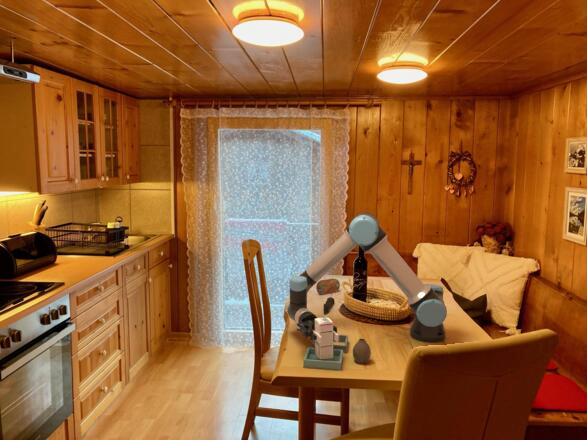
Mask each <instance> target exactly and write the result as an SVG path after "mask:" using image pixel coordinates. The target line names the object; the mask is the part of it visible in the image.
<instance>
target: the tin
mask: <svg viewBox="0 0 587 440" xmlns="http://www.w3.org/2000/svg"><path fill="white" fill-rule="evenodd" d="M315 285H316V286H315V289H316V292H317V294H320V295H322V296H325V295H326V296H327V295H329V294H331V295H332V294H335V293H337V292H338V291H339V290H340V287H341V283H340V281H339V280H338V279H336V278H333V277H331V278H326V279H320V280H319V281H318V282H317V283H316V284H315Z"/></svg>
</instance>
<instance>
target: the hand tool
mask: <svg viewBox="0 0 587 440" xmlns="http://www.w3.org/2000/svg"><path fill="white" fill-rule="evenodd" d="M334 304H335V298H334V297H327V299H326V301H325V303H324V304H323V315H327V314H328V313H329V312H330V309H331V308H332V306H333V305H334Z"/></svg>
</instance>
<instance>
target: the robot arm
mask: <svg viewBox="0 0 587 440" xmlns="http://www.w3.org/2000/svg"><path fill="white" fill-rule="evenodd" d="M357 246H359V247H360V248H361V249H362V250H363V252H364V253H367V254H371V256H373V259H375V260H376V262H378V264H379V265H380V266H381V268H382V269H383V270H384V271H385V272H386V274H387V276H389V278H390V279H392V281H393V282H394V283H395V284H396V286H397V287H398V288H399V289H400V291H401V292H402V293H403V295H404V296H406V298H407V305H408V306H409V307H410V309H411V310H413V312H414V319H412V324H411V327H410V329H409V335H410V337H411V338H413V339H415V340H417V341H420V342H425V343H437V342H438V343H439V342H443V341H444V340H445V339H446V338H447V337H446V335H447V334H446V329H445V326H444V322H445V321H446V318H447V315H448V310H447V305H445V301H444V287H443V286H442V285H440V284H435V283H434V284H432V283H423V282H422V281H421V279H420V278H419V277H418V275H417V274H416V273H415V271H413V269H412V268H411V267H410V266H409V264H408V263H407V262H406V261H405V260H404V258H402V256H401V255H400V253H398V252H397V250H396V249H395V248H394V247H393V246H392V245H391V243H390V242H389V241H388V233H386V231H385V230H384V229H383V228H382V226H381V225H380V222H379V220H378V218H377V216H375V215H374V214H373V213H370V212H362V213H358V214H357V215H356V216H355V217H354V218H353V219H352V221H351V222H350V224H349V225H348V226H347V227H346V228H345V232H344V233H343V234H342V235H341V236H340V237H339V238H338V239H337V240H336V241H335V242H333V244H331V245H330V246H329V247H328V248H327V249H326V250H325V251H324V252H323V253H322V254H320V256H319V257H318V258H317V259H316V260H315V261H313V263H311V264H310V265H309V266H308V267H307V268H306V270H304V271H303V272H302V273H300V275H295V276H292V277H290V279H289V285H288V286H289V303H288V305H287V307H286V313H287V315H288V317H289V318H290V320H293V321H294V322H295V323H296V331H298V332H300V334H301V335H302V336H303V337H304V338H305V339H308V338H309V340H310V341H313V339H314V340H316V341H317V342H318V343H319V344H322V337H321V336H320V335H319V334H318V333H317V332H316V331H315V319H316V318H318V317H317V315H316V314H314V313H313V311H311V310H310V309H308V293H309V291H310V290H311V289H312V287H314V286H315V285H317V283H318V282H319V281H320V280H322V278H323V277H325V275H327V273H329V272H330V270H332V269H333V268H334V267H335V266H336V265H337V264H338V263H340V262H341V260H343V259H344V258H345V257H346V256H347V255H348V254H349V253H350V252H351V251H352V250H354V249H355V248H356V247H357ZM339 335H340V334H339V333H338V327H337V326H336V325H334V324H333V339H334V340H335V341H336V342H335V343H340V342H339Z"/></svg>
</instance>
